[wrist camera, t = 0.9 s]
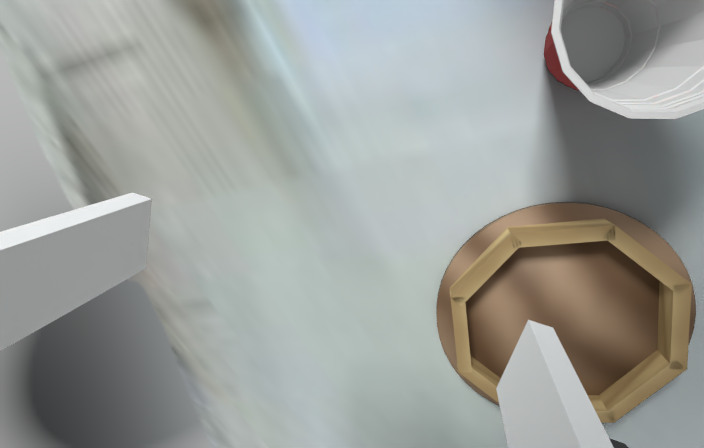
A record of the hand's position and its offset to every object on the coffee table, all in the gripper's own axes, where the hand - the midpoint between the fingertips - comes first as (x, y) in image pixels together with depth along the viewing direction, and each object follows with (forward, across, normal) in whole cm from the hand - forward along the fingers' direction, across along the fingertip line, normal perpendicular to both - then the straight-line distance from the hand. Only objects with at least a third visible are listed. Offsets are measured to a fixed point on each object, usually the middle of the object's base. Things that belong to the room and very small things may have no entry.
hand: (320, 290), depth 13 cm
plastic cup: (+24, +11, +14) cm, 30 cm away
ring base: (+24, +18, -8) cm, 31 cm away
